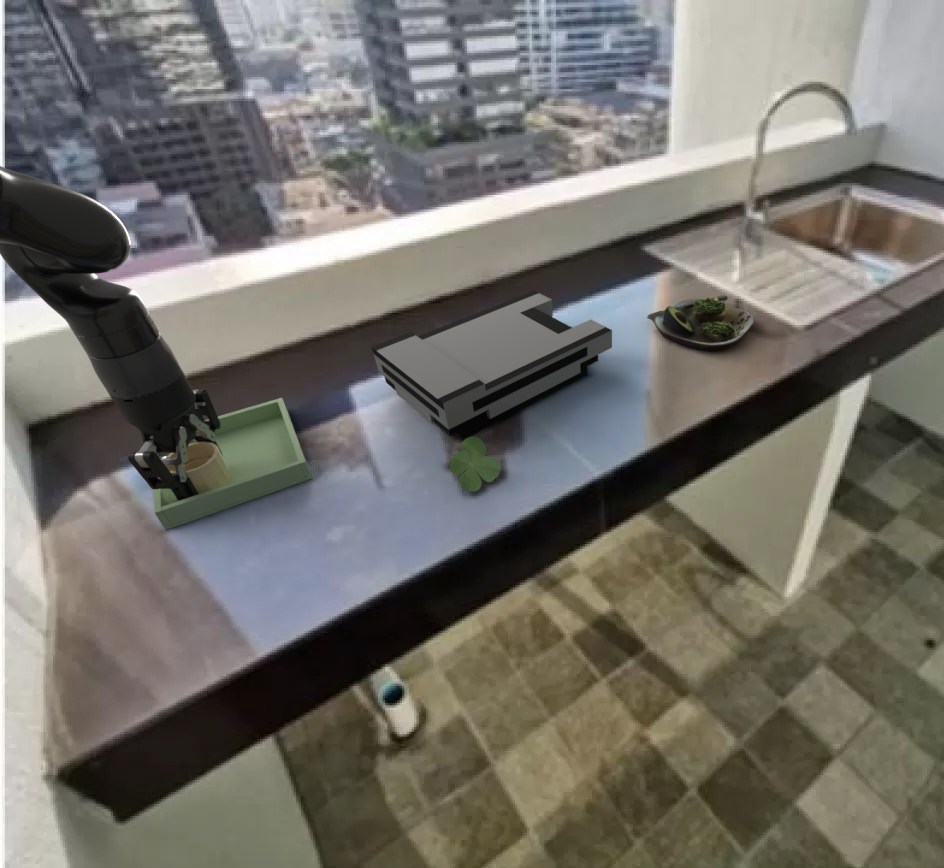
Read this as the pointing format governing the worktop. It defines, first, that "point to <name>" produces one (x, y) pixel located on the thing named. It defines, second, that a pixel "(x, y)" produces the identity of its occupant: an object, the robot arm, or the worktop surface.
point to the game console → (490, 363)
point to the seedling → (474, 464)
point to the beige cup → (205, 466)
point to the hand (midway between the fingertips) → (204, 481)
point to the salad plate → (702, 323)
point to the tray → (243, 464)
